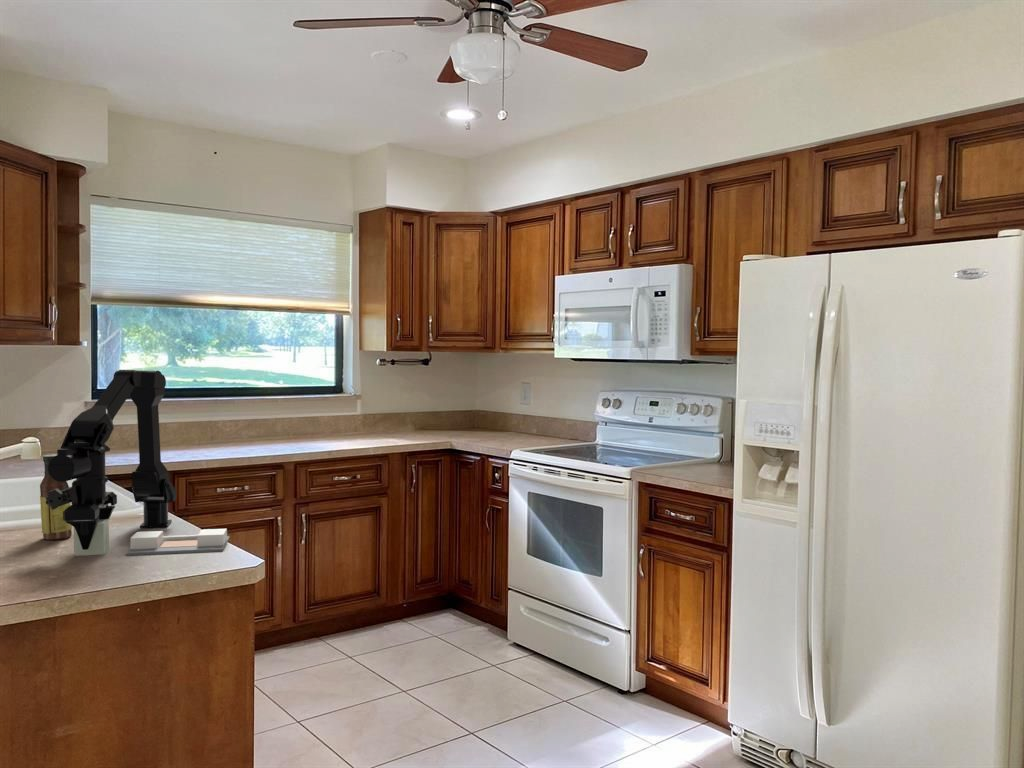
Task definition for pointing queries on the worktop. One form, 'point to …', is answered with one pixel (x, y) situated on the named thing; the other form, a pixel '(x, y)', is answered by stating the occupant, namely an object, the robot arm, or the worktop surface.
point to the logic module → (94, 540)
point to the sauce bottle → (53, 518)
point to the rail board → (178, 542)
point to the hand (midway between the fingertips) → (91, 544)
